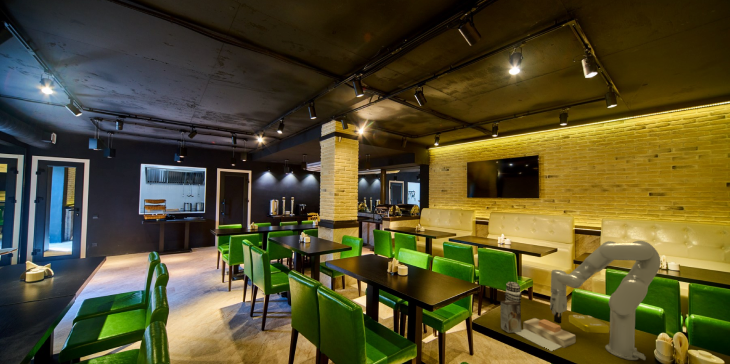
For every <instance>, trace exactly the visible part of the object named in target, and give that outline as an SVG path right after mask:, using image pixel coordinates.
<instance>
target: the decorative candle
mask: <svg viewBox="0 0 730 364" xmlns="http://www.w3.org/2000/svg"><path fill="white" fill-rule="evenodd" d="M505 285H506V287H505V292H504V301H507V300H513V301H516V302H518V303H520V304H521V303H522V299H521V298H522V292H521V286H520V285H519V283H517V282H515V281H508V282H507V283H506V284H505Z"/></svg>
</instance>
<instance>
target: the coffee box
mask: <svg viewBox="0 0 730 364" xmlns="http://www.w3.org/2000/svg"><path fill="white" fill-rule="evenodd" d="M499 303H500V329H501V330H503V331H504V332H507V333H509V334H511V333H515V332H519V331H521V330H522V316H521V315H522V313H521V312H522V311H521V307H522V306H521V303H518V302H516V301H513V300H507V301H505V300H500V302H499Z"/></svg>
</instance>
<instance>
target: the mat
mask: <svg viewBox="0 0 730 364" xmlns="http://www.w3.org/2000/svg"><path fill="white" fill-rule="evenodd" d="M514 334H516V335H518V336H520V337H523V338H524V339H526V340H527V341H529V342H532V343H534V344H536V345H538V346H539V347H542V348H544V347H545V348H544V349H546V348H547V349H546V350H548V349H549V350H548V351H549V352H554V351H556V350H558V349H560V348H563V347H562V346H560V345H558V344H556V343H554V342H552V341H550V340H548V339H545V338H543V337H541V336H539V335H537V334H535V333H533V332H531V331H529V330H526V329H521V331H519V332H514ZM553 350H554V351H553Z"/></svg>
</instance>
